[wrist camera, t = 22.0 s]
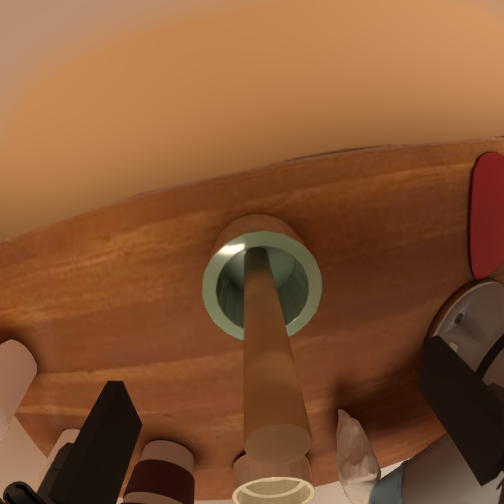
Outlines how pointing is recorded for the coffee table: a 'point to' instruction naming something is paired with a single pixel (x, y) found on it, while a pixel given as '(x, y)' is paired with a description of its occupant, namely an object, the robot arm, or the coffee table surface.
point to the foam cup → (13, 379)
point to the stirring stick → (269, 372)
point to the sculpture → (355, 460)
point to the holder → (283, 268)
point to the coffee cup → (162, 475)
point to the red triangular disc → (487, 215)
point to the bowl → (271, 482)
